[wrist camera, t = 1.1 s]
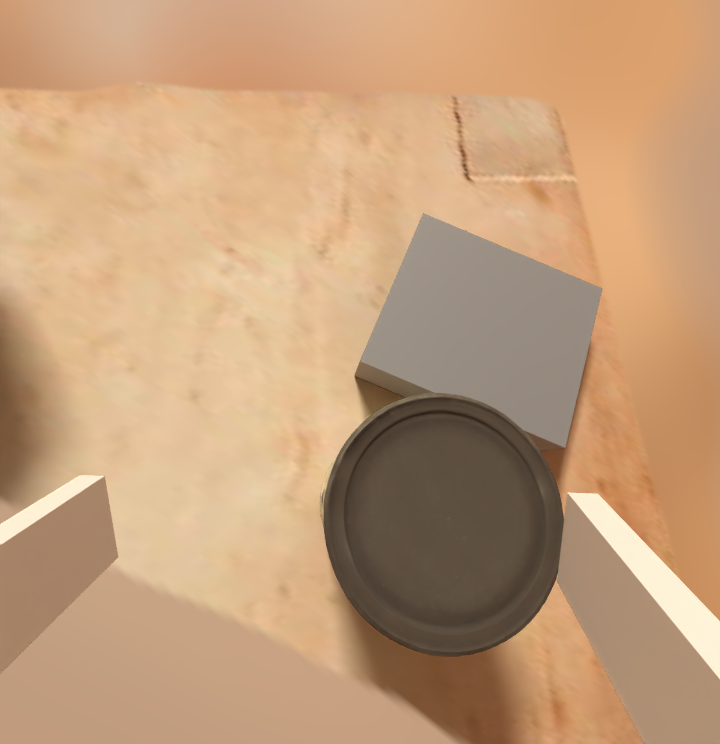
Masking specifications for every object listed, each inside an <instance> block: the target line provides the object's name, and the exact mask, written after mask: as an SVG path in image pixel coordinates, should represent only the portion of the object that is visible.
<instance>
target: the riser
mask: <svg viewBox="0 0 720 744" xmlns="http://www.w3.org/2000/svg"><path fill="white" fill-rule="evenodd" d="M601 293H602V288H600V287H598V286H595V285H593V284H590V283H588V282H586V281H583V280H581V279H579V278H576V277H574V276H571V275H569V274H567V273H564V272H562V271H559V270H557V269H555V268H552V267H550V266H548V265H545V264H543V263H540V262H538V261H536V260H533V259H531V258H528V257H526V256H524V255H521V254H519V253H517V252H514V251H512V250H509V249H507V248H505V247H502V246H500V245H498V244H495V243H493V242H490V241H488V240H486V239H483V238H481V237H478V236H476V235H474V234H471V233H469V232H467V231H464V230H462V229H459V228H457V227H455V226H452V225H450V224H448V223H445V222H443V221H440V220H438V219H436V218H433V217H431V216H428V215H426V214H424V213H423V215H422V217H421V220H420V222H419V224H418V227H417V229H416V231H415V234H414V236H413V238H412V241H411V243H410V245H409V248H408V250H407V252H406V255H405V257H404V259H403V262H402V264H401V266H400V269H399V271H398V273H397V276H396V278H395V280H394V283H393V285H392V287H391V290H390V292H389V294H388V297H387V299H386V301H385V304H384V306H383V308H382V311H381V313H380V315H379V318H378V320H377V322H376V325H375V327H374V329H373V332H372V334H371V336H370V339H369V341H368V343H367V346H366V348H365V350H364V353H363V355H362V357H361V360H360V362H359V365H358V368H357V370H356V373H355V376H356V377H358V378H361V379H363V380H365V381H368V382H370V383H372V384H375V385H377V386H380V387H382V388H384V389H387V390H389V391H391V392H394V393H396V394H398V395H401V396H403V397H409V396H414V395H420V394H426V393H448V394H456V395H461V396H465V397H469V398H472V399H475V400H478V401H481V402H483V403H485V404H487V405H489V406H491V407H493V408H495V409H497V410H498V411H500V412H502V413H503V414H505V415H506V416H507V417H509V418H510V419H511V420H512V421H514V422H515V423H516V424H517V425H518V426H519V427H520V428H522V429H523V431H524V432H525V433H526V434H527V435H528V436H529V437H530V438H531V439H532V441H533V442H534V443H535V445H536V446H537V447H538V449H539V450H540V451H548V450H555V449H561V448H565V447H566V443H567V439H568V434H569V430H570V426H571V422H572V417H573V413H574V409H575V404H576V400H577V396H578V392H579V387H580V383H581V379H582V374H583V370H584V366H585V361H586V357H587V353H588V349H589V344H590V340H591V336H592V331H593V327H594V323H595V319H596V314H597V310H598V306H599V301H600V297H601Z"/></svg>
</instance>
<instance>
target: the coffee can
mask: <svg viewBox="0 0 720 744" xmlns="http://www.w3.org/2000/svg"><path fill="white" fill-rule="evenodd" d="M320 511H321V518H322V522H323V526H324V533H325V540H326V546H327V550H328V554H329V558H330V561H331V564H332V567H333V570H334V572H335V575H336V577H337V579H338V581H339V583H340V585H341V587H342V589H343V591H344V593H345V594H346V596H347V598H348V599H349V600H350V602H351V603H352V604H353V606H354V607H355V608H356V610H357V611H358V612H359V613H360V614H361V616H362V617H363V618H364V619H365V620H366V621H367V622H368V623H369V624H371V625H372V626H373V627H374V628H375V629H376V630H378V631H379V632H380V633H382V634H383V635H385V636H387V637H388V638H389V639H391V640H393V641H395V642H397V643H399V644H400V645H403V646H405V647H407V648H410V649H412V650H415V651H418V652H422V653H425V654H429V655H436V656H463V655H470V654H474V653H478V652H482V651H485V650H487V649H490V648H492V647H495V646H497V645H499V644H501V643H503V642H505V641H507V640H508V639H510V638H511V637H513V636H514V635H516V634H517V633H519V632H520V631H521V630H522V629H523V628H524V627H525V626H526V625H527V624H528V623H529V622H531V620H532V619H533V618H534V617H535V616H536V614H537V613H538V612H539V610H540V609H541V607H542V606H543V604H544V603H545V601H546V599H547V597H548V596H549V594H550V592H551V589H552V587H553V585H554V583H555V581H556V577H557V574H558V568H559V560H560V551H561V543H562V534H563V526H564V516H563V510H562V503H561V498H560V493H559V490H558V487H557V484H556V482H555V479H554V476H553V474H552V472H551V470H550V468H549V466H548V463H547V462H546V460H545V458H544V457H543V455H542V453H541V451H540V450H539V449H538V447H537V446H536V445H535V443H534V442H533V441H532V439H531V438H530V437H529V436H528V435H527V434H526V433H525V432H524V431H523V429H522V428H520V427H519V426H518V425H517V424H516V423H515V422H514V421H512V420H511V419H510V418H509V417H507V416H506V415H505V414H503V413H502V412H500V411H498V410H497V409H495V408H493V407H491V406H489V405H487V404H485V403H483V402H481V401H478V400H475V399H472V398H469V397H465V396H461V395H456V394H448V393H426V394H420V395H414V396H409V397H406V398H403V399H401V400H398V401H395V402H393V403H391V404H389V405H387V406H385V407H383V408H381V409H380V410H378V411H376V412H375V413H374V414H373V415H371V416H370V417H369V418H368V419H366V420H365V421H364V422H363V423H362V424H361V425H360V426H359V427H358V428H357V429H356V430H355V431H354V432H353V433H352V435H351V436H350V437H349V438H348V440H347V441H346V443H345V444H344V446H343V447H342V449H341V451H340V452H339V454H338V456H337V458H336V459H335V460H334V461H333V463H332V464H331V466H330V468H329V470H328V472H327V474H326V476H325V479H324V482H323V485H322V489H321V496H320Z"/></svg>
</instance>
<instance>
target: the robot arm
mask: <svg viewBox="0 0 720 744" xmlns="http://www.w3.org/2000/svg"><path fill="white" fill-rule="evenodd" d="M117 558H118V553H117V547H116V541H115V535H114V529H113V523H112V517H111V511H110V505H109V499H108V493H107V487H106V481H105V476H93V475H80V476H78V477H76V478H75V479H73V480H71V481H70V482H68V483H67V484H65V485H63V486H62V487H60V488H58V489H57V490H55V491H53V492H52V493H50V494H49V495H47V496H45V497H44V498H42V499H40V500H39V501H37V502H35V503H34V504H32V505H31V506H29V507H27V508H26V509H24V510H22V511H21V512H19V513H17V514H16V515H14V516H12V517H11V518H9V519H8V520H6V521H4V522H3V523H1V524H0V673H1V672H2V671H3V670H4V669H6V668H7V667H8V666H9V665H10V664H11V663H12V662H13V661H14V660H15V659H16V658H17V657H18V656H19V655H20V654H21V653H22V651H24V650H25V649H26V648H27V647H28V646H29V645H30V644H31V643H32V642H33V641H34V640H35V639H36V638H37V637H38V636H39V635H40V634H41V633H42V632H43V631H44V630H45V629H46V628H47V627H48V626H49V625H50V624H51V623H52V622H53V621H54V620H55V619H56V618H57V617H58V616H59V615H60V614H61V613H62V612H63V611H64V610H65V609H66V608H67V607H68V606H69V605H70V604H71V603H72V602H73V601H74V600H75V599H76V598H77V597H78V596H79V595H80V594H81V593H82V592H83V591H84V590H85V589H86V588H87V587H88V586H89V585H90V584H91V583H92V582H93V581H95V580H96V578H98V577H99V575H101V574H102V573H103V572H104V571H105V570H106V569H107V568H108V567H109V566H110V565H111V564H112V563H113V562H114V561H115V560H116V559H117ZM557 582H558V584H559V586H560V588H561V590H562V592H563V594H564V595H565V597H566V599H567V601H568V603H569V605H570V607H571V608H572V610H573V612H574V614H575V616H576V618H577V620H578V621H579V623H580V625H581V627H582V629H583V631H584V633H585V634H586V636H587V638H588V640H589V642H590V644H591V646H592V647H593V649H594V651H595V653H596V655H597V657H598V659H599V660H600V662H601V664H602V666H603V668H604V670H605V672H606V673H607V675H608V677H609V679H610V681H611V683H612V685H613V686H614V688H615V690H616V692H617V694H618V696H619V698H620V699H621V701H622V703H623V705H624V707H625V709H626V711H627V712H628V714H629V716H630V718H631V720H632V722H633V724H634V725H635V727H636V729H637V731H638V733H639V735H640V737H641V738H642V740H643V742H644V744H720V621H719V620H718V619H717V618H716V617H715V616H714V615H713V614H712V613H711V612H710V611H709V610H708V609H707V608H706V607H705V606H704V604H703V603H702V602H701V601H700V600H699V599H698V598H697V597H696V596H695V595H694V594H693V593H692V592H691V591H690V590H689V589H688V588H687V587H686V586H685V585H684V584H683V582H682V581H681V580H680V579H679V578H678V577H677V576H676V575H675V574H674V573H673V572H672V571H671V570H670V569H669V568H668V567H667V566H666V565H665V564H664V563H663V562H662V560H661V559H660V558H659V557H658V556H657V555H656V554H655V553H654V552H653V551H652V550H651V549H650V548H649V547H648V546H647V545H646V544H645V543H644V542H643V541H642V540H641V539H640V537H639V536H638V535H637V534H636V533H635V532H634V531H633V530H632V529H631V528H630V527H629V526H628V525H627V524H626V523H625V522H624V521H623V520H622V519H621V518H620V517H619V515H618V514H617V513H616V512H615V511H614V510H613V509H612V508H611V507H610V506H609V505H608V504H607V503H606V502H605V501H604V500H603V499H602V498H601V497H600V496H599V495H598V494H593V493H567V501H566V509H565V518H564V526H563V534H562V543H561V551H560V560H559V568H558V577H557Z"/></svg>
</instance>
